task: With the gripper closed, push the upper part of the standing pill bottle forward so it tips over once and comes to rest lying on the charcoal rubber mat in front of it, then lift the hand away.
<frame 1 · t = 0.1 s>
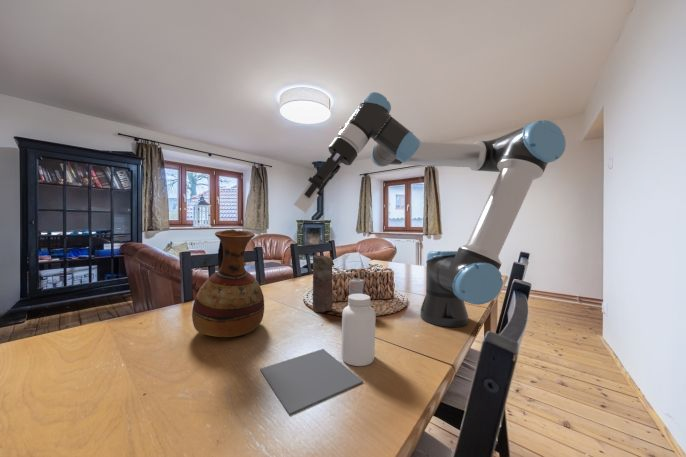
hand: (300, 209, 69), 36 cm above the table, tool tilted 35°, fingers open, 13 cm apart
mat: (309, 376, 55), on the table
candle: (322, 310, 96), on the table
pill bottle: (358, 359, 63), on the table
ceramic pitcher: (229, 330, 78), on the table
energy drink: (356, 314, 93), on the table
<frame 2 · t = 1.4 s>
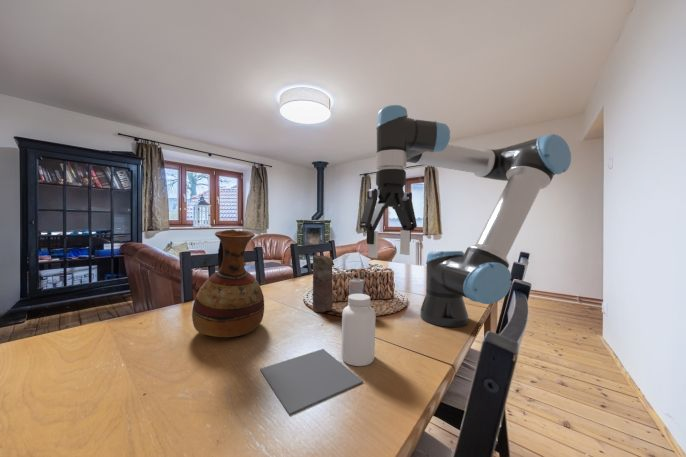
hand: (389, 255, 68), 24 cm above the table, tool pointing down, fingers open, 11 cm apart
nothing on the table moved.
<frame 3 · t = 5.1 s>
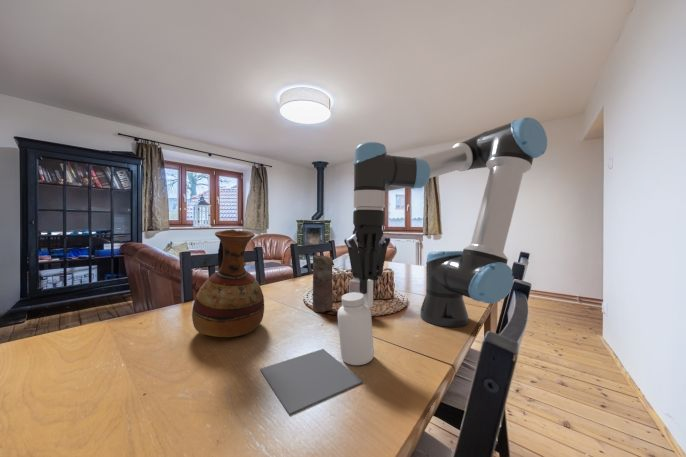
hand: (366, 305, 64), 12 cm above the table, tool pointing down, fingers closed
pill bottle: (358, 356, 63), on the table, touching gripper
everything else where it was.
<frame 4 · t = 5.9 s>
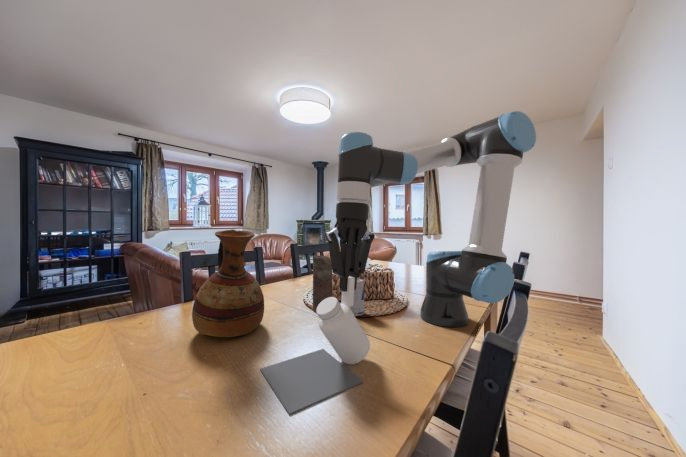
hand: (347, 304, 60), 14 cm above the table, tool pointing down, fingers closed
pill bottle: (356, 350, 62), point 2 cm above the table, touching gripper
everything else where it was.
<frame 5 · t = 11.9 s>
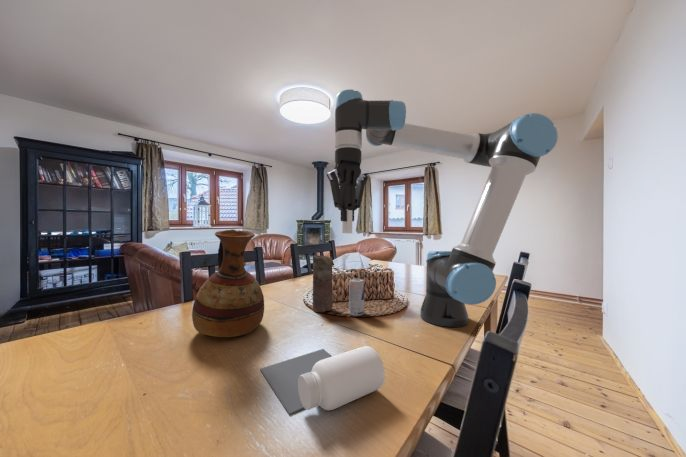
hand: (347, 233, 74), 29 cm above the table, tool pointing down, fingers closed
pill bottle: (373, 366, 52), point 4 cm above the table
everything else where it was.
at the end: pill bottle tilted 89°; pill bottle inside the target area on the mat (11.8 cm from its centre), point 3.8 cm above the mat's base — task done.
